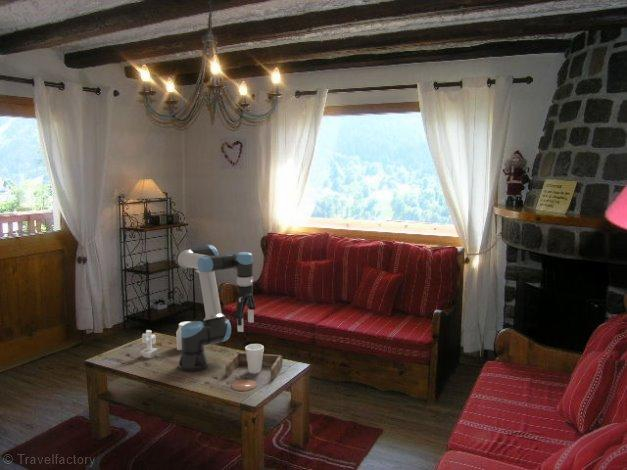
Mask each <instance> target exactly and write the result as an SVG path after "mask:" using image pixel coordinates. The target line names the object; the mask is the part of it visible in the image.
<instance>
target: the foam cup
mask: <svg viewBox="0 0 627 470" xmlns="http://www.w3.org/2000/svg"><path fill="white" fill-rule="evenodd" d="M244 349H245V351H244V353H246V356H247V363H248V365H247V368H248V369H247V370H248V373H250V374H259V373H261V372H262V367H263V366H262V359H263V354H264V352H265V351H264V350H265V347H264V344H263V345H262V344H260V343H250V344H248V345H246V346H245V347H244Z"/></svg>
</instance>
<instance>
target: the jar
mask: <svg viewBox="0 0 627 470" xmlns="http://www.w3.org/2000/svg"><path fill="white" fill-rule="evenodd" d="M189 322H191V321H181V322H180V323H178V328H177V330H176V332H175V334H176V351H177V350H178V351H182V345H181V328H182V327H183V326H184V325H185V324H187V323H189Z"/></svg>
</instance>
